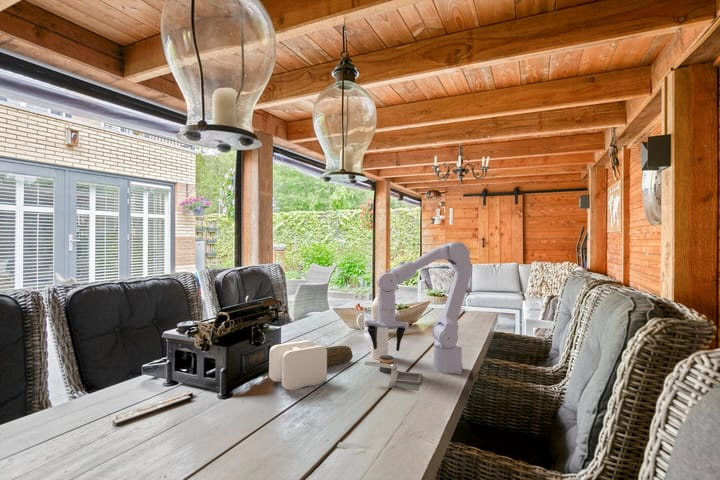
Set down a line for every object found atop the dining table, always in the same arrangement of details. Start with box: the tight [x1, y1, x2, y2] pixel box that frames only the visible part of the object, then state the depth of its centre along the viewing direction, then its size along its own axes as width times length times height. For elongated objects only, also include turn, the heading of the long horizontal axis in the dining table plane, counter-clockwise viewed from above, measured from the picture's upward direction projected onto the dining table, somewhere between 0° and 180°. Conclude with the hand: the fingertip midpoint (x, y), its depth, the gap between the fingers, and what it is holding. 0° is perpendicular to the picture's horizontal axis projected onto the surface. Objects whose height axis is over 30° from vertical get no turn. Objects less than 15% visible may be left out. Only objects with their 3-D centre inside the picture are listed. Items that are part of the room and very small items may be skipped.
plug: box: [378, 354, 395, 374], centre depth 125 cm, size 5×5×5 cm
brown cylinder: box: [325, 345, 354, 368], centre depth 132 cm, size 15×7×7 cm, turn 132°
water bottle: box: [370, 291, 389, 361], centre depth 139 cm, size 9×6×25 cm
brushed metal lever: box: [364, 360, 398, 370], centre depth 113 cm, size 10×2×1 cm, turn 71°
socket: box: [387, 369, 423, 391], centre depth 116 cm, size 9×14×6 cm, turn 166°
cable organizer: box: [268, 339, 328, 392], centre depth 116 cm, size 15×11×12 cm
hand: (386, 349), depth 125 cm, fingers open, 7 cm apart
